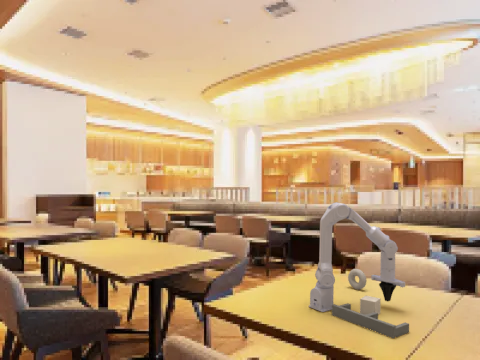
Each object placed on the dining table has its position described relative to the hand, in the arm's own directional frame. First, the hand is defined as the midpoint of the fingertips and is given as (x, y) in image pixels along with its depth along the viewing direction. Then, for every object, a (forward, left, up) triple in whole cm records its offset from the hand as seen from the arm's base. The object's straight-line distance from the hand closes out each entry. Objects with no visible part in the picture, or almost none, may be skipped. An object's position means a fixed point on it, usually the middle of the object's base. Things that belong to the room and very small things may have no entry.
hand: (387, 300), depth 157 cm
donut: (+12, +25, -3) cm, 28 cm away
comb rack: (-21, -6, -3) cm, 22 cm away
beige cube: (-12, 0, -3) cm, 12 cm away
